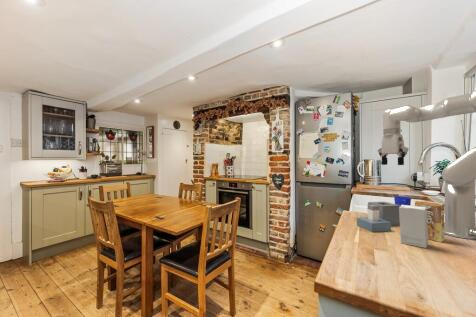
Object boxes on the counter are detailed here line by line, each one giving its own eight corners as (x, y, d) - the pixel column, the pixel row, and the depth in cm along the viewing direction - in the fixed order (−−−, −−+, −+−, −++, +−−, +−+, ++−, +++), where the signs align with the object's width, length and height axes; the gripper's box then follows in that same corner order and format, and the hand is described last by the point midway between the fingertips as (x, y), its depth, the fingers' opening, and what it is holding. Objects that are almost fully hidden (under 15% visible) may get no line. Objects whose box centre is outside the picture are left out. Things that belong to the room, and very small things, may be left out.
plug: (379, 226, 106) (379, 206, 105) (372, 227, 105) (372, 206, 105) (373, 224, 109) (373, 204, 109) (367, 225, 108) (367, 204, 108)
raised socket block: (400, 225, 111) (400, 205, 111) (382, 226, 110) (382, 206, 110) (384, 219, 121) (384, 201, 121) (368, 220, 120) (367, 202, 120)
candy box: (444, 240, 91) (444, 203, 91) (441, 242, 88) (441, 204, 88) (418, 234, 98) (418, 200, 98) (414, 236, 96) (414, 201, 96)
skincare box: (428, 244, 86) (428, 206, 86) (426, 249, 82) (426, 209, 82) (402, 239, 92) (402, 203, 92) (398, 242, 88) (398, 206, 88)
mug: (396, 216, 129) (396, 198, 129) (393, 211, 140) (393, 195, 139) (414, 217, 125) (414, 200, 125) (409, 212, 136) (409, 196, 136)
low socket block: (390, 230, 103) (390, 222, 103) (371, 231, 101) (371, 223, 101) (374, 224, 113) (374, 216, 113) (356, 225, 111) (356, 217, 111)
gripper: (413, 130, 109) (414, 165, 109) (383, 134, 126) (384, 164, 126) (401, 130, 108) (401, 165, 108) (372, 134, 125) (373, 164, 125)
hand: (392, 164), depth 117 cm, fingers open, 9 cm apart
